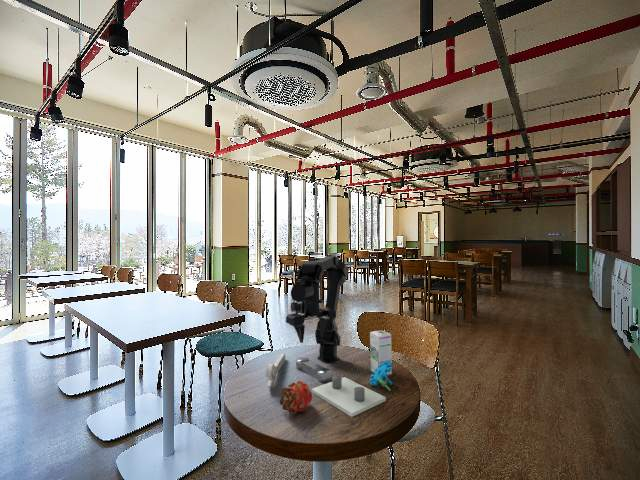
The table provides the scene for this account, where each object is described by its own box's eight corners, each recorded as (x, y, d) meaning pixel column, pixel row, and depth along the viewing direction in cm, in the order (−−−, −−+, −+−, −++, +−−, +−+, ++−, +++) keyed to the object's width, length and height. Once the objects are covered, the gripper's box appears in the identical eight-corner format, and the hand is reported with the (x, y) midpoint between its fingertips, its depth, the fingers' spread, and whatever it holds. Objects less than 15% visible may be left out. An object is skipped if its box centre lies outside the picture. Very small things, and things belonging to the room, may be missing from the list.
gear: (368, 371, 112) (389, 354, 109) (380, 383, 112) (401, 366, 109) (366, 390, 101) (389, 371, 99) (380, 404, 101) (403, 385, 98)
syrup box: (392, 374, 113) (392, 333, 113) (378, 377, 111) (378, 335, 111) (382, 368, 119) (382, 329, 119) (369, 371, 116) (369, 331, 116)
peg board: (344, 379, 109) (344, 368, 109) (385, 400, 95) (385, 387, 95) (311, 392, 100) (311, 379, 100) (351, 416, 86) (351, 402, 86)
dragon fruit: (285, 428, 84) (299, 411, 95) (311, 411, 82) (322, 396, 94) (269, 398, 86) (285, 385, 97) (294, 381, 85) (307, 370, 96)
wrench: (285, 367, 127) (270, 394, 98) (280, 367, 127) (264, 394, 98) (285, 346, 128) (271, 367, 98) (281, 346, 128) (265, 367, 99)
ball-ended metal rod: (304, 364, 123) (304, 356, 123) (335, 380, 109) (335, 371, 109) (293, 367, 120) (293, 359, 120) (323, 384, 106) (323, 375, 106)
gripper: (318, 290, 126) (318, 330, 127) (277, 296, 115) (277, 339, 115) (337, 294, 118) (337, 337, 118) (294, 301, 106) (294, 348, 106)
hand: (312, 340), depth 114 cm, fingers open, 9 cm apart
